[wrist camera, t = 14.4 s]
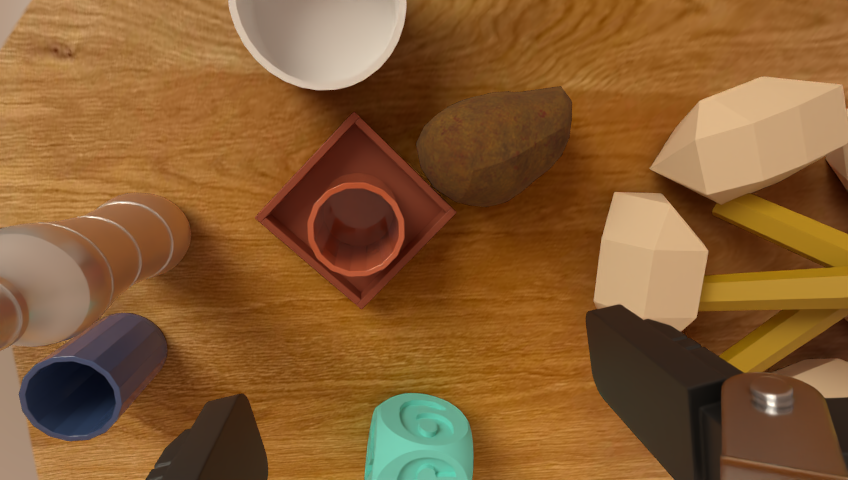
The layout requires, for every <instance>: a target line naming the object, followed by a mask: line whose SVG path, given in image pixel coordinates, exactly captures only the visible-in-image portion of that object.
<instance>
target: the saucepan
mask: <svg viewBox="0 0 848 480" xmlns="http://www.w3.org/2000/svg"><path fill="white" fill-rule="evenodd" d="M228 3H229V10H230V13H231V16H232V19H233V23H234V26H235V28H236V30H237V32H238V34H239V36H240V38H241V40H242V42H243V44H244V45H245V46H246V48H247V49H248V50H249V52H250V53H251V54H252V56H253V57H254V58H255V59H256V60H257V61H258V62H259V63H260V64H261V65H262V66H263V67H264V68H266V69H267V70H268V71H269V72H270V73H272V74H274V75H275V76H277V77H279V78H280V79H282V80H283V81H285V82H288V83H291V84H293V85H296V86H299V87H302V88H307V89H313V90H336V89H342V88H346V87H350V86H352V85H355V84H357V83H359V82H361V81H363V80H364V79H366V78H367V77H369V76H370V75H371V74H373V73H374V72H375V71H377V70H378V69H379V68H380V67H381V66H382V65H383V64H384V62H385V61H386V60H387V59H388V58H389V57H390V55H391V53H392V52H393V50H394V48H395V46H396V45H397V43H398V41H399V38H400V35H401V32H402V29H403V26H404V21H405V14H406V0H228Z"/></svg>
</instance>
